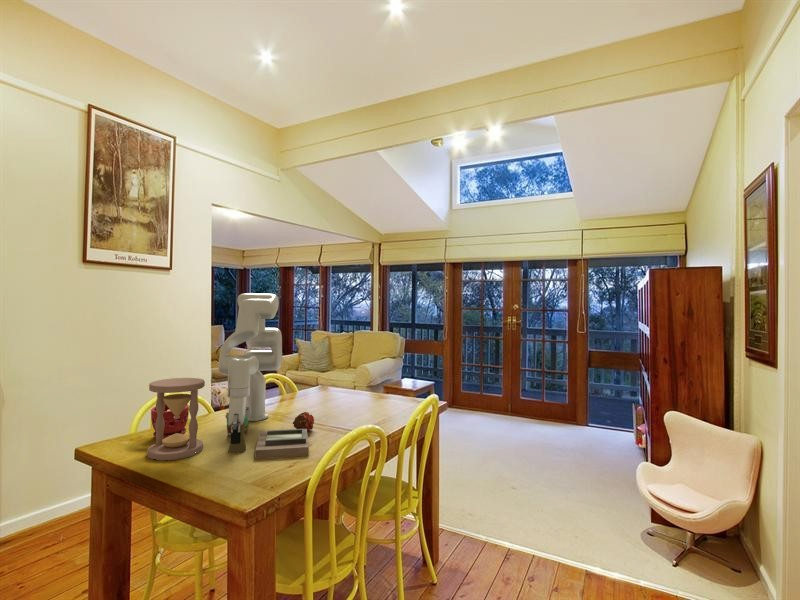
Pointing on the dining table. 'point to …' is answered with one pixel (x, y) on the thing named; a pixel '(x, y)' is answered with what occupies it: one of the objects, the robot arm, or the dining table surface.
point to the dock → (282, 443)
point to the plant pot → (171, 421)
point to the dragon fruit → (304, 421)
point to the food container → (244, 420)
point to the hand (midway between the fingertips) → (237, 439)
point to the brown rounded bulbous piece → (240, 447)
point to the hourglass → (176, 443)
